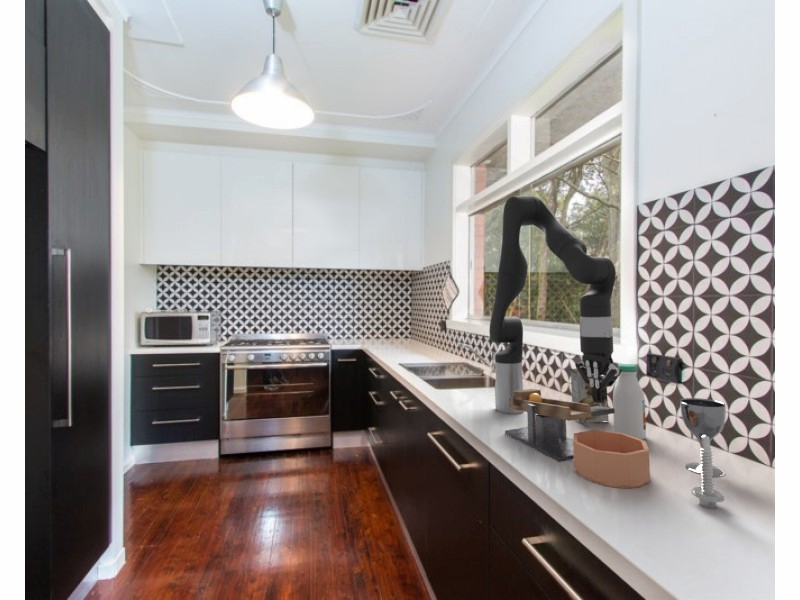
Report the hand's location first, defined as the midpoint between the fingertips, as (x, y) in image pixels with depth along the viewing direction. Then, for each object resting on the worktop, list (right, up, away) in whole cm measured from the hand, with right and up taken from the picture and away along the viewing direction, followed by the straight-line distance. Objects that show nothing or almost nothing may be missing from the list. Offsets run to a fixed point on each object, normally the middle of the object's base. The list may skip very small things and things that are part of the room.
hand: (598, 402), depth 99 cm
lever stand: (-11, -13, +6) cm, 18 cm away
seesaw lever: (-8, -4, +7) cm, 11 cm away
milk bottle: (+14, -12, +9) cm, 21 cm away
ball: (-13, -2, +10) cm, 16 cm away
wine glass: (+17, -12, -13) cm, 24 cm away
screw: (+6, -12, -27) cm, 30 cm away
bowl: (-4, -12, -13) cm, 18 cm away
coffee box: (+10, -13, +25) cm, 30 cm away
